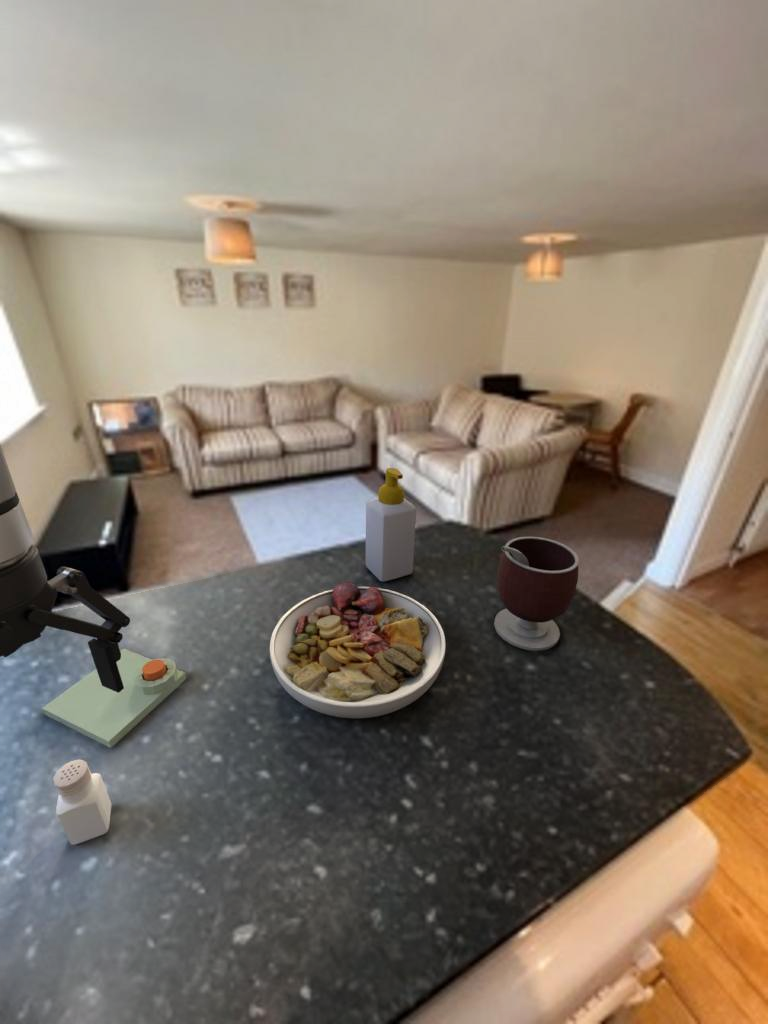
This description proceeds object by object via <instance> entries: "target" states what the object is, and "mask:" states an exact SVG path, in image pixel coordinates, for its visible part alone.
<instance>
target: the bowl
mask: <svg viewBox="0 0 768 1024" xmlns="http://www.w3.org/2000/svg"><path fill="white" fill-rule="evenodd" d="M269 640H270V641H269V657H270V663H271V666H272V670H273V672H274V675H275V677H276V679H277V680H278V683H279V684H280V685H281V686H282V688H283V689H284V690H285V692H287V693H288V694H289V695H290V696H291V697H292V698H293V699H294V700H296V701H297V702H299V704H302V705H303V706H305V707H307V708H309V709H311V710H313V711H315V712H318V713H320V714H324V715H327V716H331V717H336V718H342V719H368V718H375V717H381V716H384V715H388V714H391V713H394V712H396V711H398V710H399V711H400V710H401V709H404V708H405V707H407V706H408V705H411V704H412V703H415V701H417V700H418V699H419V698H420V697H422V696H423V695H425V693H426V692H427V691H428V690H429V689H430V688H431V687H432V685H433V684H434V683H435V681H436V680H437V679H438V677H439V674H440V672H441V670H442V667H443V664H444V661H445V655H446V636H445V633H444V630H443V628H442V625H441V624H440V622H439V620H438V618H437V617H436V616H435V615H434V614H433V613H432V612H431V611H430V610H429V609H428V608H427V607H426V606H425V605H423V604H422V603H420V602H419V601H417V600H416V599H414V598H412V597H410V596H408V595H405V594H403V593H400V592H397V591H394V590H391V589H386V588H383V587H382V588H381V587H376V586H358V585H357V584H356V583H353V582H351V581H343V582H340V583H337V585H335V587H334V588H333V589H329V590H325V591H322V592H319V593H316V594H313V595H311V596H309V597H307V598H305V599H303V600H301V601H300V602H298V603H296V604H295V605H294V606H293V607H291V608H289V610H288V611H287V612H286V613H284V615H283V616H282V617H281V618H280V619H279V620H278V622H277V623H276V625H275V627H274V629H273V631H272V634H271V637H270V639H269Z"/></svg>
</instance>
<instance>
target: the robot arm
mask: <svg viewBox="0 0 768 1024" xmlns="http://www.w3.org/2000/svg"><path fill="white" fill-rule="evenodd" d="M31 529H32V528H31V527H30V524H29V521H28V518H27V516H26V513H25V510H24V508H23V504H22V502H21V500H20V497H19V494H18V491H17V489H16V486H15V483H14V479H13V478H12V474H11V472H10V469H9V466H8V462H7V459H6V457H5V454H4V451H3V448H2V446H1V444H0V658H1V657H4V658H7V657H9V656H11V655H12V654H14V653H16V652H17V651H18V650H20V648H22V647H23V646H24V645H26V644H29V643H32V642H34V641H36V640H38V639H39V638H41V637H42V633H43V632H44V630H45V629H46V628H47V627H49V628H52V629H57V630H61V631H67V632H70V633H74V634H78V635H83V636H87V637H90V638H92V639H90V640H89V641H87V645H88V648H89V651H90V654H91V657H92V660H93V664H94V667H95V669H97V672H98V675H99V678H100V681H101V684H102V686H104V687H106V688H108V689H111V690H113V691H115V692H118V693H119V692H120V691H121V690H123V689H124V686H123V683H122V680H121V676H120V673H119V670H118V666H117V663H116V662H117V661H119V660H120V659H121V652H120V651H121V648H120V646H119V643H120V642H122V640H123V638H124V637H123V633H121V632H119V631H120V630H122V628H126V627H128V626H129V625H130V623H131V618H130V617H129V616H128V615H127V614H126V613H124V612H123V611H122V610H120V609H119V608H118V607H117V606H115V605H114V604H113V603H112V602H110V601H109V600H108V599H107V598H105V597H104V596H102V594H100V593H99V592H98V591H96V590H95V589H94V588H93V587H92V586H91V585H90V582H89V581H88V579H87V577H86V574H85V573H84V572H83V571H81V570H78V569H74V568H72V567H67V566H61V567H59V568H58V569H57V571H56V576H54V577H52V578H51V579H49V580H48V574H47V573H46V569H45V566H44V563H43V561H42V558H41V555H40V552H39V550H38V547H36V546H35V544H33V543H34V541H35V538H34V535H33V533H32V530H31ZM58 592H60V593H63V594H66V595H71V596H72V597H73V598H74V599H76V600H77V601H78V602H80V603H81V604H82V605H84V607H86V608H87V609H89V610H91V611H92V612H93V613H95V614H96V615H97V616H99V617H100V618H102V620H104V622H102V623H101V625H100V624H97V623H93V622H90V621H86V620H84V619H79V618H76V617H72V616H70V615H65V614H62V613H60V612H56V611H53V609H54V606H55V602H56V600H57V597H58Z"/></svg>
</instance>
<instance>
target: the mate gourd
mask: <svg viewBox="0 0 768 1024" xmlns="http://www.w3.org/2000/svg"><path fill="white" fill-rule="evenodd" d="M501 551H502V553H501V556H500V560H499V562H498V567H497V568H498V569H497V573H496V574H497V575H496V586H497V593H498V597H499V599H500V601H501V602H502V604H503V605H504V607H505V608H503V609H502V610H500V611H499V612H498V613H497V614H496V616H495V617H494V623H493V624H494V629H495V632H496V633H497V635H498V636H499V637H500V638H501V639H502V640H503V641H505V642H506V643H508V644H510V645H512V646H514V647H517V648H519V649H522V650H526V651H534V652H536V651H537V652H540V651H547V650H549V649H551V648H553V647H554V646H556V645H557V643H558V642H559V640H560V636H561V632H560V629H559V626H558V624H557V623H556V622H555V621H554V619H556V618H558V617H560V616H562V615H563V614H565V612H566V611H567V610H568V608H569V606H570V605H571V603H572V601H573V598H574V597H575V593H576V589H577V585H578V581H579V563H580V559H579V556H578V554H577V553H576V552H575V551H574V550H573V549H571V548H570V546H568V545H566V544H563V543H562V542H560V541H557V540H553V539H550V538H545V537H540V536H519V537H514V538H512V539H510V540H509V541H507V542H506V543H505V544H504V545H503V546H502V547H501Z"/></svg>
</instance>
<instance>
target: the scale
mask: <svg viewBox="0 0 768 1024" xmlns="http://www.w3.org/2000/svg"><path fill="white" fill-rule="evenodd" d="M120 652H121V659H120V660H119V661H117V662H116V663H117V666H118V670H119V673H120V676H121V680H122V683H123V686H124V689H123V690H121V691H120V692H119V693H118V692H115V691H113V690H111V689H108V688H106V687H104V686H102V684H101V681H100V678H99V675H98V672H97V669H96V668H95V669H94V670H91V672H90V673H88V674H87V675H85V676H84V677H82V678H81V679H80V680H78V681H77V682H76V683H74V684H73V685H71V686H70V687H68V689H66V690H65V691H64V692H62V693H61V694H59V695H58V696H57V697H55V698H54V699H53V700H51V701H50V702H48V703H47V704H46V705H44V706H43V707H42V708H41V709H42V711H43V714H44V716H46V717H49V718H50V719H52V720H54V721H56V722H58V723H60V724H62V725H64V726H66V727H68V728H70V729H72V730H73V731H76V732H78V733H79V734H82V735H83V736H86V737H88V738H90V739H92V740H94V741H96V742H98V743H100V744H102V745H104V746H106V747H108V748H110V749H112V748H113V747H114V746H115V745H116V744H117V743H118V742H120V741H121V740H122V739H123V738H124V737H125V736H126V735H127V734H128V733H129V732H130V731H131V730H132V729H133V728H135V727H136V726H137V725H138V724H139V723H140V722H141V721H142V720H143V719H145V718H146V717H147V716H148V715H149V714H150V713H151V712H152V711H153V710H154V709H156V707H158V706H159V705H160V704H161V703H162V702H163V701H164V700H165V699H166V698H167V697H168V696H170V695H171V694H172V693H173V692H174V691H175V690H176V689H177V688H178V687H180V686H181V684H183V683H184V682H185V681H186V680H187V675H186V672H184V671H183V670H179V669H178V668H177V666H176V662H175V661H174V660H173V659H169V658H167V657H164V658H158V659H159V660H162V661H164V663H165V667H166V673H165V675H164V676H163V677H162V678H160V679H158V680H155V681H147V680H145V678H144V675H143V671H142V669H143V666H144V665H145V664H146V663H148V662H149V661H152V660H153V659H152V658H149V657H147V656H144V655H141V654H139V653H137V652H134V651H131V650H129V649H127V648H122V649H120ZM156 659H157V658H155V659H154V660H156Z"/></svg>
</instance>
